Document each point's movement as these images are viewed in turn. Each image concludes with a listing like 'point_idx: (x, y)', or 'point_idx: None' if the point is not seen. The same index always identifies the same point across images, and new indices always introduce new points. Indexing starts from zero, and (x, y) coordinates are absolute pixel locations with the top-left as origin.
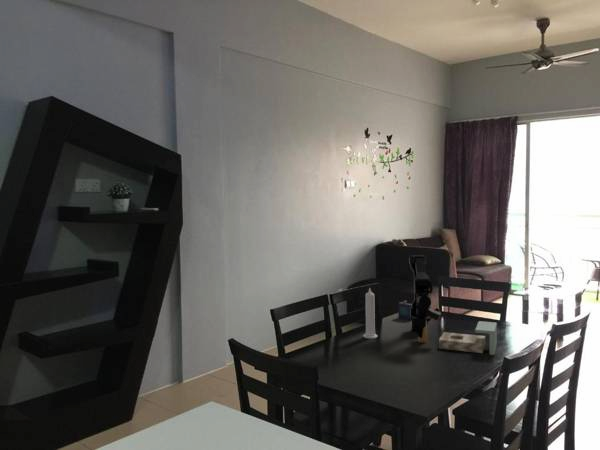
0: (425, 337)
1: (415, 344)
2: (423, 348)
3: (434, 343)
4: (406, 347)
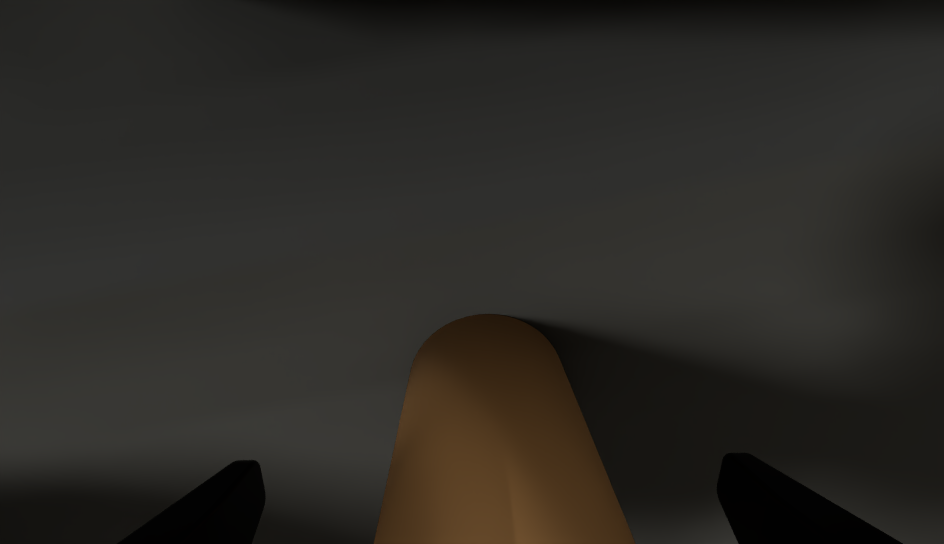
0: (558, 388)
1: (691, 453)
2: (914, 294)
3: (530, 157)
4: (877, 527)
